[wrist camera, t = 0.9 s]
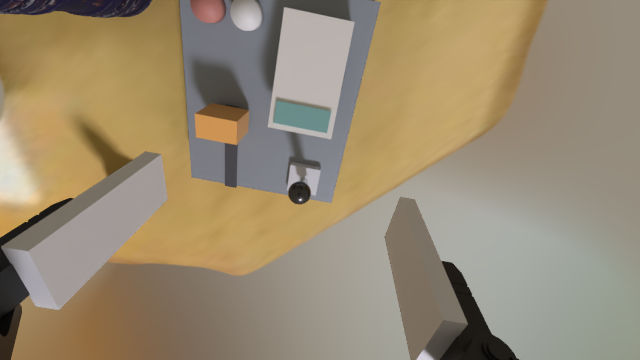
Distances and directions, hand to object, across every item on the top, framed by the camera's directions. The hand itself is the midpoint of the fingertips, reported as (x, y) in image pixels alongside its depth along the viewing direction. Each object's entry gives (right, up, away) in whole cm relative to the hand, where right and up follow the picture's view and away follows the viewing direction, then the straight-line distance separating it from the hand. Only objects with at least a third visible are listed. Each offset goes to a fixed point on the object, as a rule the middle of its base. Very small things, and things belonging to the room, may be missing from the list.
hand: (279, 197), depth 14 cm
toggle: (0, +1, +18) cm, 18 cm away
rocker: (+1, +11, +12) cm, 16 cm away
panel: (-3, +11, +18) cm, 22 cm away
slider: (-8, +8, +16) cm, 19 cm away
